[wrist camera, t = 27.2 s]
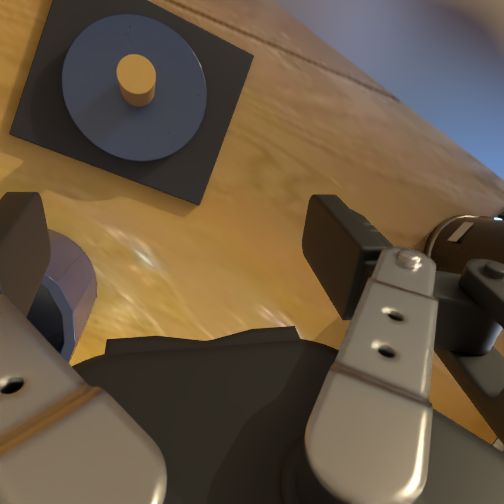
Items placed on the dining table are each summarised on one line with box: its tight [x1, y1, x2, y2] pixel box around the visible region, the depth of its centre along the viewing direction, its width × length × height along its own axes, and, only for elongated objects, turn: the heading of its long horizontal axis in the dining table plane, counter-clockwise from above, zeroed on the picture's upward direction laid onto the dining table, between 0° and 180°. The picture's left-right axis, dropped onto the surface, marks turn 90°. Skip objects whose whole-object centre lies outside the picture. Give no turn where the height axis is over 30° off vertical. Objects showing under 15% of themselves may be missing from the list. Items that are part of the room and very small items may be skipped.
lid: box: [62, 14, 207, 162], centre depth 32 cm, size 12×12×6 cm
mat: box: [9, 0, 254, 205], centre depth 35 cm, size 17×15×1 cm
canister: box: [26, 229, 97, 363], centre depth 30 cm, size 11×11×12 cm
